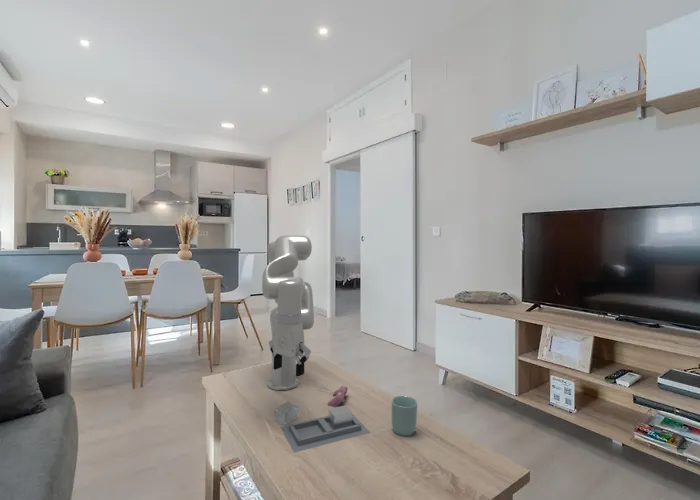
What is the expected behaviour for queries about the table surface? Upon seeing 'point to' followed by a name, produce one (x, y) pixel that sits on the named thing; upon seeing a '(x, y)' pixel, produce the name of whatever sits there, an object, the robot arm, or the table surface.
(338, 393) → the video game controller
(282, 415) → the billet
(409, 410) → the cup
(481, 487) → the table surface
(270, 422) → the table surface
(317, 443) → the grey fixture tray
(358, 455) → the table surface
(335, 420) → the block
